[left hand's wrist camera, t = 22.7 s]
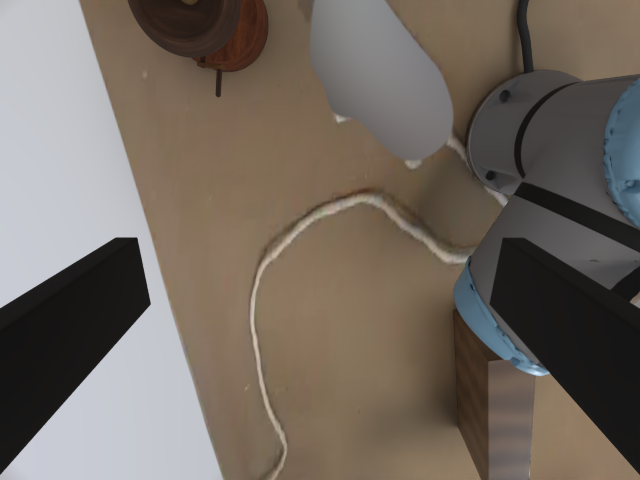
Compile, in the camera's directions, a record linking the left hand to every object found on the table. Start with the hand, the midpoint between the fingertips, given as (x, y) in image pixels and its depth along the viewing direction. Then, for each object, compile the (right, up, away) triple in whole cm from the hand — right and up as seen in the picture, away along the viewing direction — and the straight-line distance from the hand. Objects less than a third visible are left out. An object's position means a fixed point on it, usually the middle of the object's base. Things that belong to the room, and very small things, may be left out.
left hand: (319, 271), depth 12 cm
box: (+26, -21, +46) cm, 57 cm away
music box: (-11, +26, +28) cm, 40 cm away
